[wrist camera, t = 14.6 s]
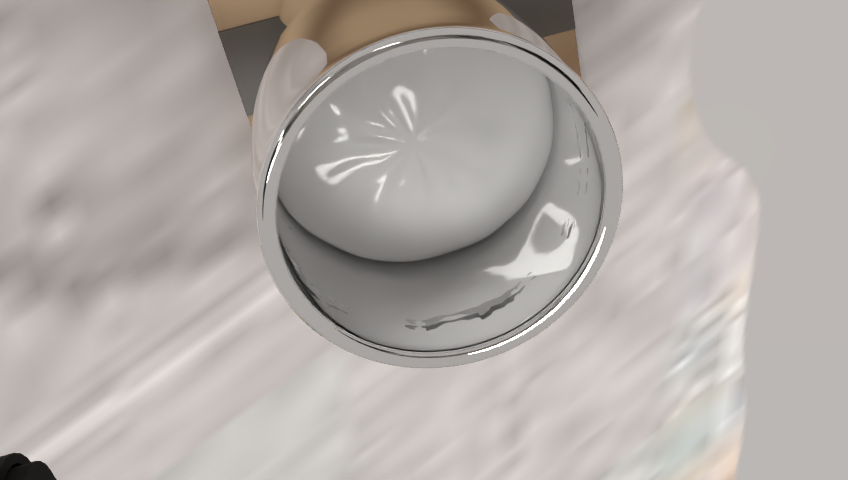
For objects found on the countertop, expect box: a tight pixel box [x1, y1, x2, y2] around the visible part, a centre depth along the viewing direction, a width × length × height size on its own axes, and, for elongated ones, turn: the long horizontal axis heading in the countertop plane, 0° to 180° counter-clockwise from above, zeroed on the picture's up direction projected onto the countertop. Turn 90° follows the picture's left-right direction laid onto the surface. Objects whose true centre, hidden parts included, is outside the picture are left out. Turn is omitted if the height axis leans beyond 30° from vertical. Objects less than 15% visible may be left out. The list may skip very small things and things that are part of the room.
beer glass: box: [252, 0, 623, 368], centre depth 21 cm, size 7×7×15 cm
